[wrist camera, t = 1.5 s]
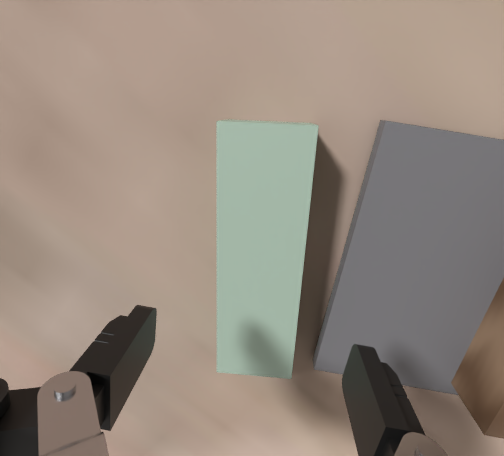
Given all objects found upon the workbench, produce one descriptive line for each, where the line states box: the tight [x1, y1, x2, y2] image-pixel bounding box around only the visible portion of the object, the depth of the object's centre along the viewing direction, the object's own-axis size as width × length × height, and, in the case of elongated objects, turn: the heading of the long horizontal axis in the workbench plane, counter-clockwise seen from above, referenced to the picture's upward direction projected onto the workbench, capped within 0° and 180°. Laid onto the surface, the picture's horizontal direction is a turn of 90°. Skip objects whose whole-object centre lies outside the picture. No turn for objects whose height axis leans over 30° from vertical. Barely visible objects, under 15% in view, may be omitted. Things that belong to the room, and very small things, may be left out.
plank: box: [217, 119, 318, 379], centre depth 20 cm, size 16×5×4 cm, turn 178°
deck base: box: [313, 120, 504, 395], centre depth 21 cm, size 18×15×1 cm
